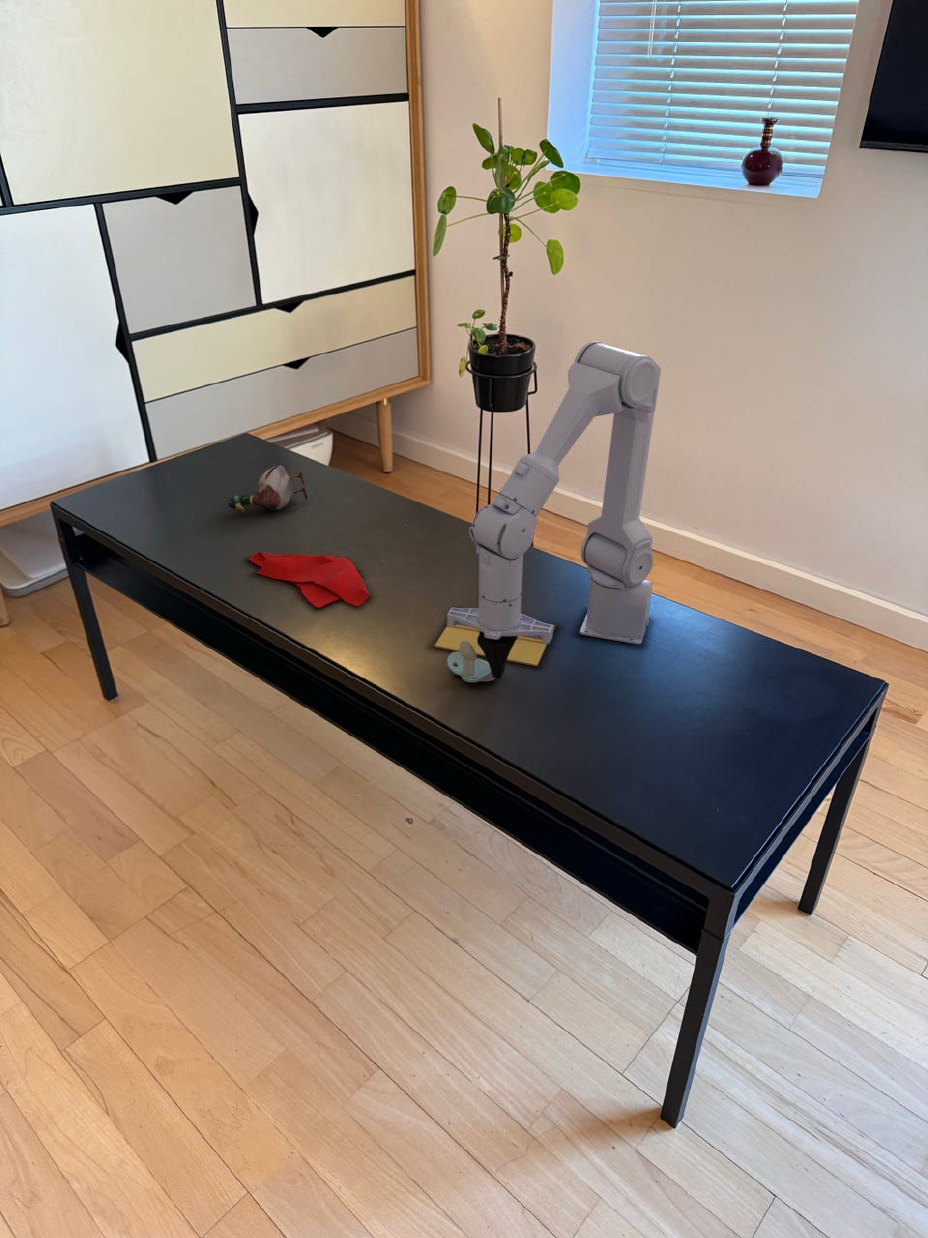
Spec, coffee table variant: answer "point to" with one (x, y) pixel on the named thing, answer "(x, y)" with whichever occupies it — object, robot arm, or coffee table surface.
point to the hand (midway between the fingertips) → (498, 674)
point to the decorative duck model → (270, 491)
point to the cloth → (316, 576)
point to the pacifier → (469, 664)
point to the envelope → (452, 637)
